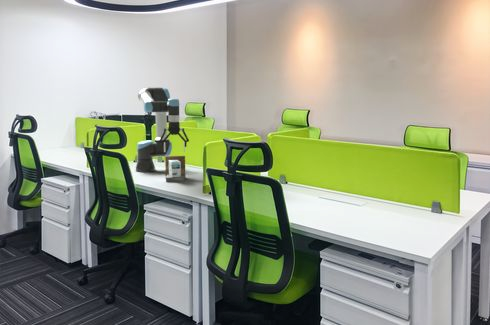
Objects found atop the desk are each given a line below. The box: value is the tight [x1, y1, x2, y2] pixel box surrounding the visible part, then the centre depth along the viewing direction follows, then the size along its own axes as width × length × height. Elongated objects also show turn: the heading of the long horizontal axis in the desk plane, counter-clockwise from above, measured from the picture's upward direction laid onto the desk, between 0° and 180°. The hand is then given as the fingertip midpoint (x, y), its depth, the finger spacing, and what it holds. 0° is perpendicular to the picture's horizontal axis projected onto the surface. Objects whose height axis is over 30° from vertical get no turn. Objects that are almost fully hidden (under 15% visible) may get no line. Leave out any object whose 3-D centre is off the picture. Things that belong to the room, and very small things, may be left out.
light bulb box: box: [168, 160, 181, 177], centre depth 308 cm, size 11×7×11 cm, turn 22°
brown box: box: [164, 155, 186, 183], centre depth 309 cm, size 14×14×16 cm
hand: (174, 151), depth 306 cm, fingers open, 13 cm apart
